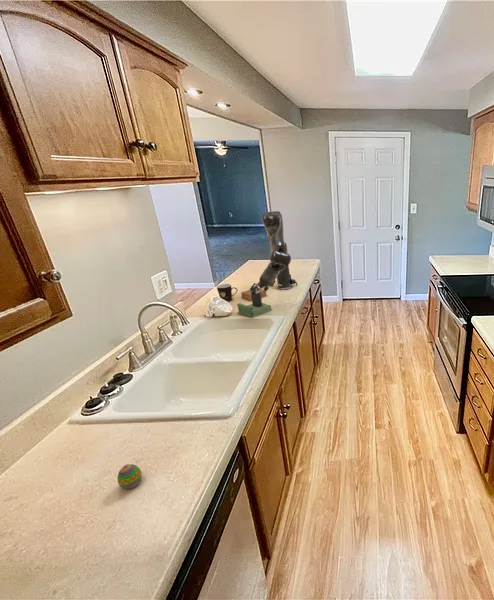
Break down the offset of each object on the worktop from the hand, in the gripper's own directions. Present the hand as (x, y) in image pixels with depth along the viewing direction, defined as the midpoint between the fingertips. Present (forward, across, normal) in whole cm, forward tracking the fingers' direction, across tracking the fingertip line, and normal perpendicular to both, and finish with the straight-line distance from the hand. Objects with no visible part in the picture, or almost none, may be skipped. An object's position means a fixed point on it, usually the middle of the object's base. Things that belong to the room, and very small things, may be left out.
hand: (258, 292), depth 192 cm
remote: (+9, 0, +4) cm, 10 cm away
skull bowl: (+21, +17, -3) cm, 27 cm away
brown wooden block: (+28, -14, -10) cm, 32 cm away
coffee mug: (+33, 0, -16) cm, 37 cm away
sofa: (+11, +2, +6) cm, 13 cm away
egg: (-42, +94, +60) cm, 119 cm away
